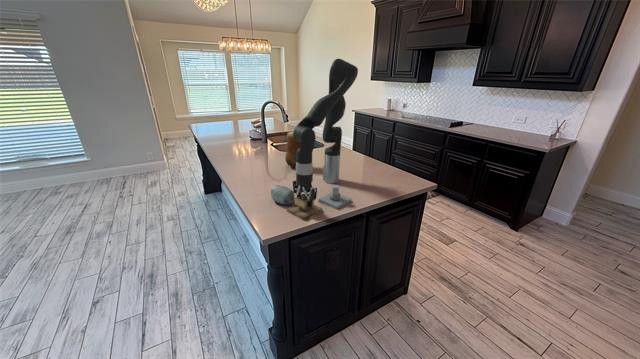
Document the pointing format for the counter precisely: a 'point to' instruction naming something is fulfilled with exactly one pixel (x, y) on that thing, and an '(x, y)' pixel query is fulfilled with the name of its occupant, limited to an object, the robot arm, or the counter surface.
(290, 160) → the butternut squash
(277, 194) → the teal-grey streaked oval part
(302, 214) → the stand
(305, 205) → the square wooden frame
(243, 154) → the counter surface
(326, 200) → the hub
